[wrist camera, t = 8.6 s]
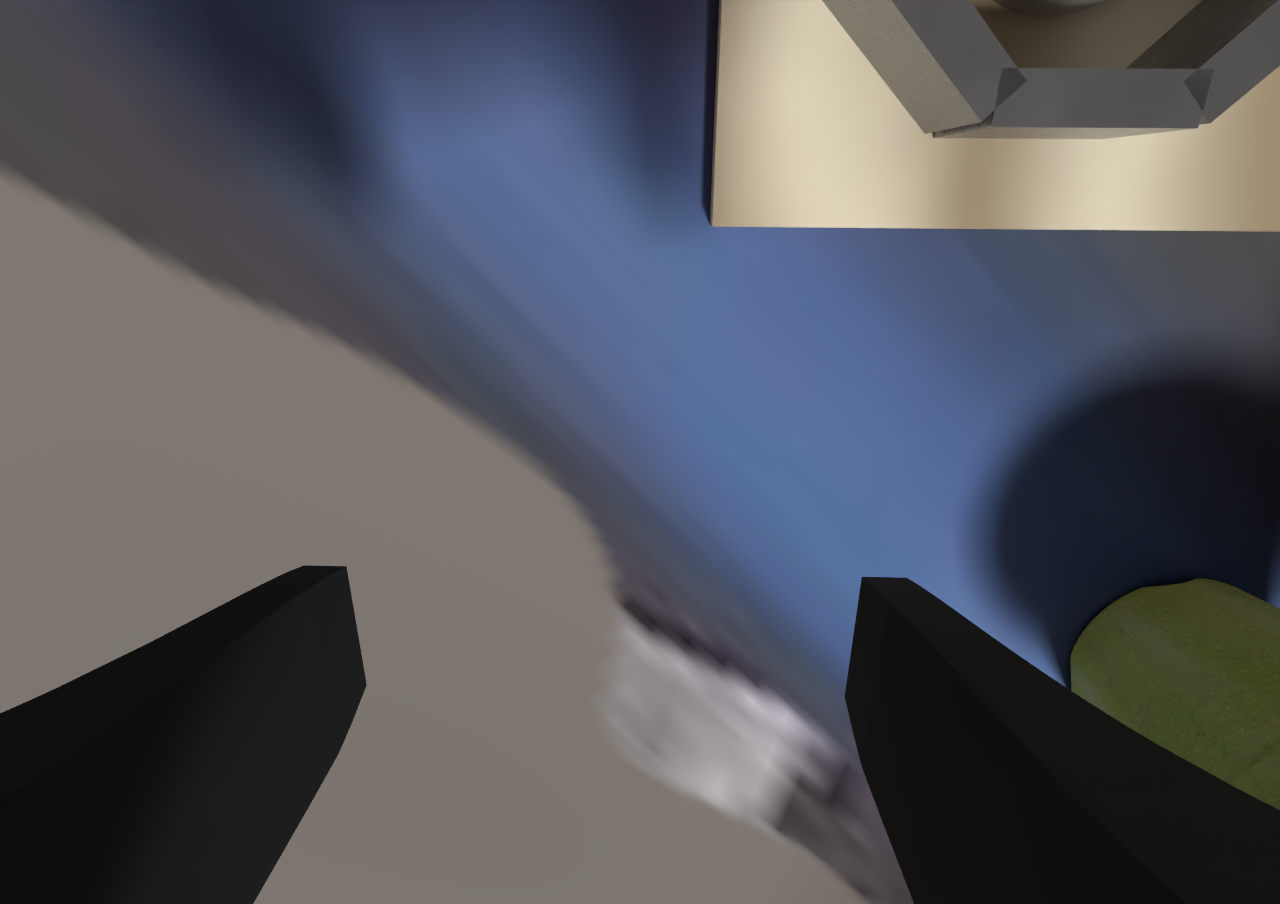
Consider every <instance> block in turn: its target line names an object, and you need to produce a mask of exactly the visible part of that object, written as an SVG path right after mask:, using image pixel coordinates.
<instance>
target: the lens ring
mask: <svg viewBox="0 0 1280 904" xmlns="http://www.w3.org/2000/svg"><path fill="white" fill-rule="evenodd" d="M822 1H823V2H824V4H825V5H826V6H827V8H828V9H829V10H830V12H831V13H832V14H833V15H834V17H835V18H836V19H837V21H838V22H839V23H840V25H841V26H842V27H843V28H844V30H845V31H846V32H847V34H848V35H849V36H850V38H851V39H852V40H853V41H854V43H855V44H856V45H857V47H858V48H859V49H860V51H861V52H862V53H863V54H864V56H865V57H866V58H867V60H868V61H869V62H870V64H871V65H872V66H873V67H874V69H875V70H876V71H877V73H878V74H879V75H880V77H881V78H882V79H883V80H884V82H885V83H886V84H887V86H888V87H889V88H890V90H891V91H892V92H893V93H894V95H895V96H896V97H897V99H898V100H899V101H900V103H901V104H902V105H903V106H904V108H905V109H906V110H907V112H908V113H909V114H910V116H911V117H912V118H913V119H914V121H915V122H916V123H917V125H918V126H919V127H920V129H921V130H922V131H923V132H924V134H927V133H932V132H934V134H933V138H991V139H1108V138H1117V137H1126V136H1135V135H1144V134H1152V133H1161V132H1170V131H1179V130H1188V129H1197V128H1198V127H1199V125H1200V124H1209V123H1211V122H1213V121H1214V120H1215V119H1216V118H1217V117H1219V116H1220V115H1221V114H1222V113H1223V112H1225V111H1226V110H1227V109H1228V108H1229V107H1231V106H1232V105H1233V104H1234V103H1235V102H1237V101H1238V100H1239V99H1240V98H1242V97H1243V96H1244V95H1245V94H1246V93H1248V92H1249V91H1250V90H1251V89H1252V88H1254V87H1255V86H1256V85H1257V84H1258V83H1260V82H1261V81H1262V80H1263V79H1264V78H1266V77H1267V76H1268V75H1269V74H1270V73H1272V72H1273V71H1274V70H1275V69H1276V68H1278V67H1279V66H1280V0H1202V1H1201V2H1200V3H1199V4H1198V5H1197V6H1196V7H1194V8H1193V9H1192V10H1191V11H1190V12H1189V13H1188V14H1187V15H1185V16H1184V17H1183V18H1182V19H1181V20H1180V21H1179V22H1177V23H1176V24H1175V25H1174V26H1173V27H1172V28H1171V29H1170V30H1168V31H1167V32H1166V33H1165V34H1164V35H1163V36H1162V37H1161V38H1159V39H1158V40H1157V41H1156V42H1155V43H1154V44H1153V45H1151V46H1150V47H1149V48H1148V49H1147V50H1146V51H1145V52H1144V53H1142V54H1141V55H1140V56H1139V57H1138V58H1137V59H1136V60H1135V61H1133V62H1132V63H1131V64H1130V65H1129V66H1128V67H1127V68H1125V69H1122V68H1017V66H1016V65H1015V63H1014V62H1013V61H1012V59H1011V58H1010V56H1009V55H1008V54H1007V52H1006V51H1005V49H1004V48H1003V46H1002V45H1001V44H1000V42H999V41H998V39H997V38H996V37H995V35H994V34H993V32H992V31H991V29H990V28H989V27H988V25H987V24H986V22H985V21H984V20H983V18H982V17H981V15H980V14H979V12H978V11H977V10H976V8H975V7H974V5H973V4H972V3H971V1H970V0H822Z"/></svg>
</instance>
